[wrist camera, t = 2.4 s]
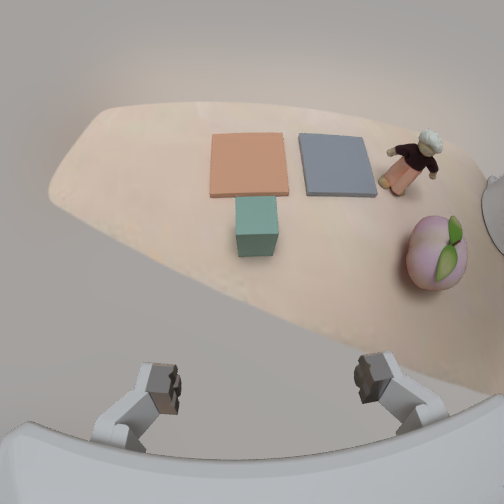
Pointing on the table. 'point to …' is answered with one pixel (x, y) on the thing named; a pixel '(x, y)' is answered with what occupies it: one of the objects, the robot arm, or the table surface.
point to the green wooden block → (256, 225)
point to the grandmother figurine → (412, 162)
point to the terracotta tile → (248, 165)
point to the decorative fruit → (437, 253)
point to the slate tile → (336, 166)
